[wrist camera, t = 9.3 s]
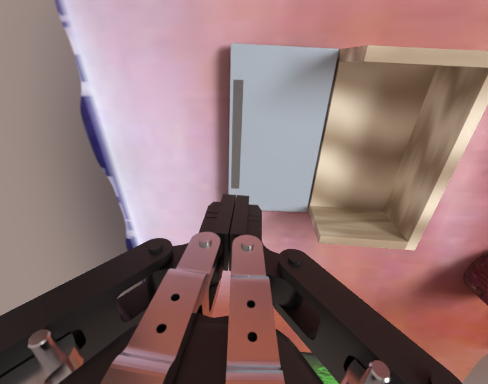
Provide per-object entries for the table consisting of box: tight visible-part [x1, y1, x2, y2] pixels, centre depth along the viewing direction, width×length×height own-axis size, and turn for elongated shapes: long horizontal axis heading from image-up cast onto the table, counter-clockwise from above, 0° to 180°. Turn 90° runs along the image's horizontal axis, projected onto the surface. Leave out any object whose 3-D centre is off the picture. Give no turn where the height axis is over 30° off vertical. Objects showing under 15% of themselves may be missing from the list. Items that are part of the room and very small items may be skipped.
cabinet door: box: [228, 43, 339, 212], centre depth 27 cm, size 18×1×10 cm
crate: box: [307, 45, 488, 250], centre depth 24 cm, size 18×10×7 cm, turn 177°
